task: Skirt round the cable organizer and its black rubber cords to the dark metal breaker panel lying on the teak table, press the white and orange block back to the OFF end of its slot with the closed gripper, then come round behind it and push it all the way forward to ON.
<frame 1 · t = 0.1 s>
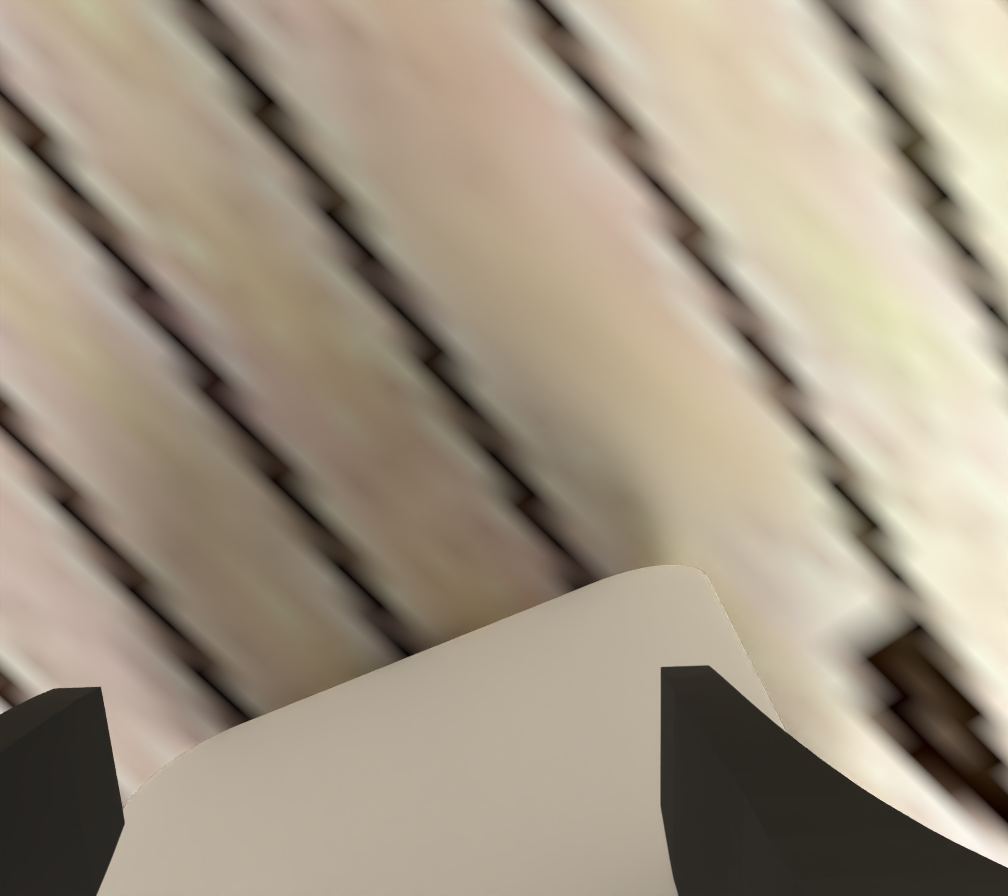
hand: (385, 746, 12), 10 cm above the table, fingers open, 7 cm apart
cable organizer: (513, 796, 24), on the table
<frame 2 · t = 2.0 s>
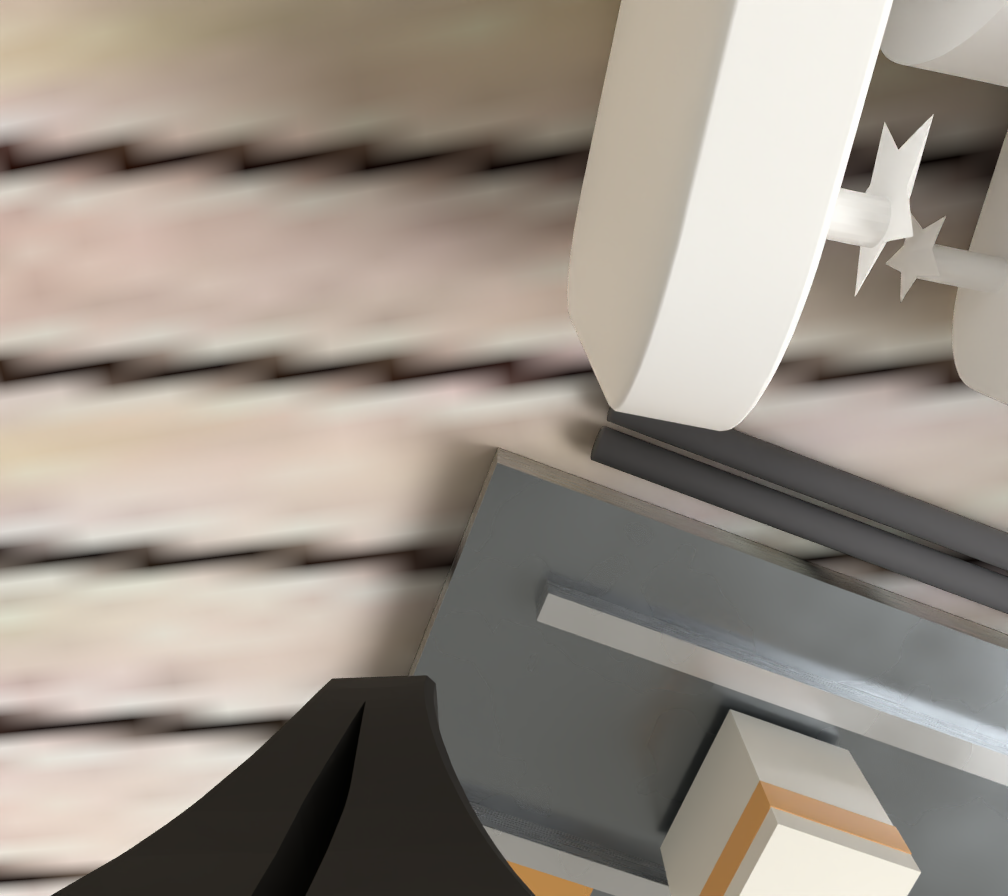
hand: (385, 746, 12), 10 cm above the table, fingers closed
cords: (903, 530, 22), on the table
white and orange block: (775, 858, 20), point 3 cm above the table, slide at 4.0 cm
breaker panel: (737, 761, 24), on the table
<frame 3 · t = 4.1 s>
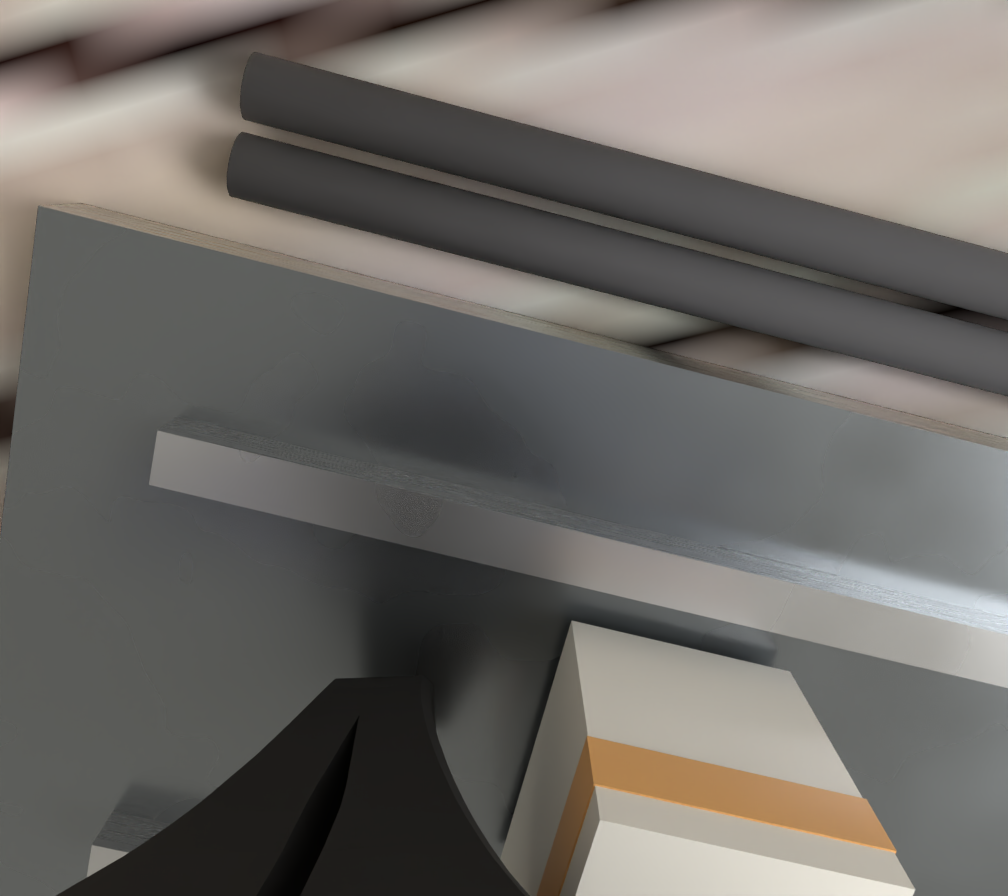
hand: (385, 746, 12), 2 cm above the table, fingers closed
cords: (808, 271, 13), on the table
white and orange block: (661, 877, 11), point 3 cm above the table, slide at 3.5 cm, touching gripper
breaker panel: (593, 707, 14), on the table
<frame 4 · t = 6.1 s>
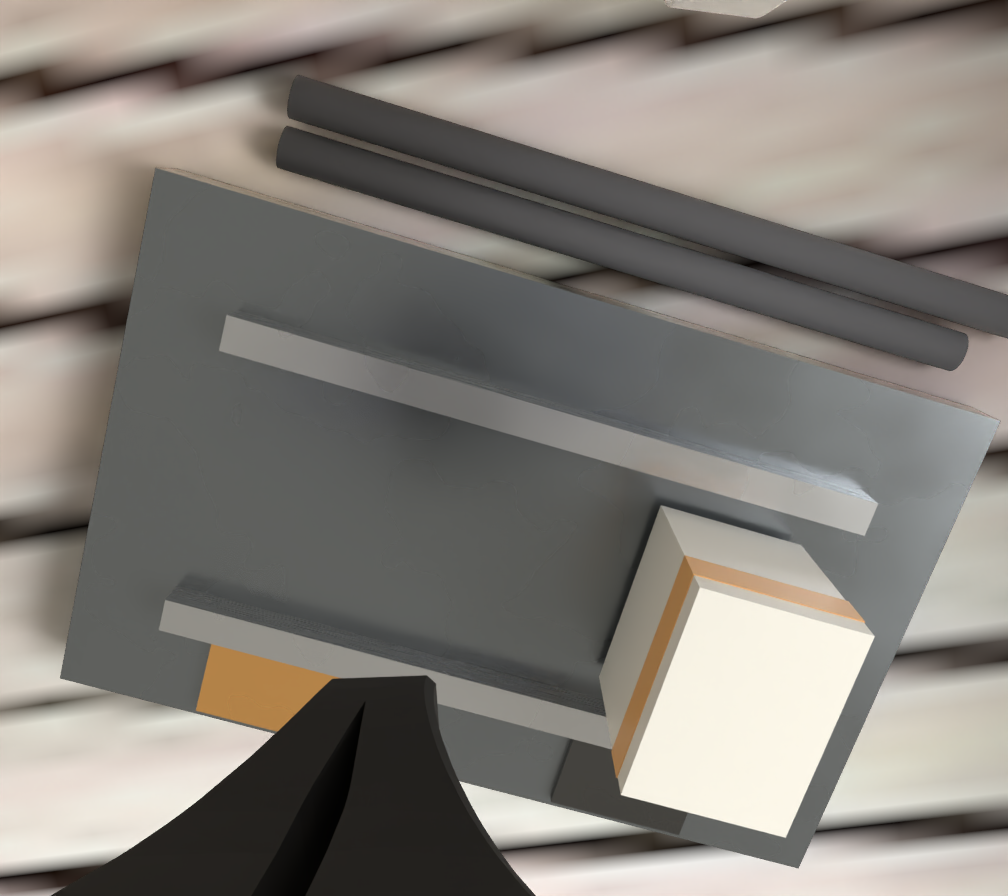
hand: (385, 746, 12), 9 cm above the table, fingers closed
cords: (657, 233, 19), on the table
white and orange block: (718, 659, 18), point 4 cm above the table, slide at 0.0 cm
breaker panel: (510, 534, 21), on the table
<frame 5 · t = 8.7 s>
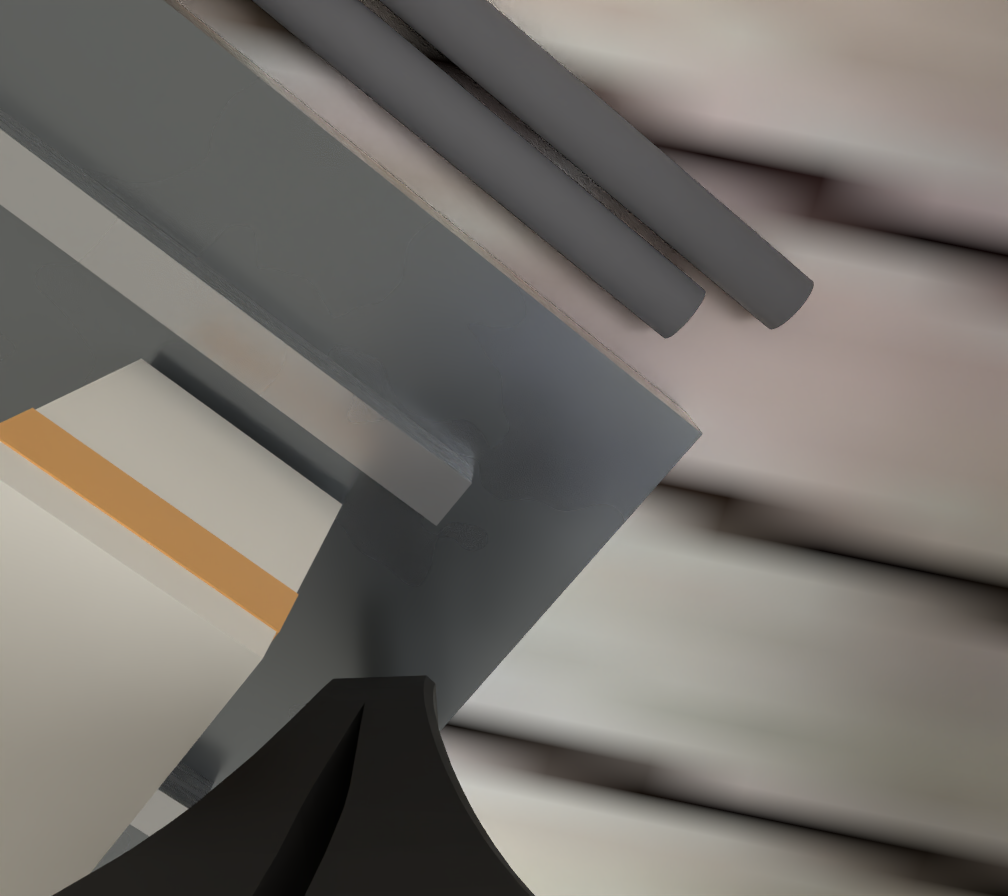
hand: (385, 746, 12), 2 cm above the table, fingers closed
white and orange block: (89, 620, 10), point 4 cm above the table, slide at 0.0 cm, touching gripper
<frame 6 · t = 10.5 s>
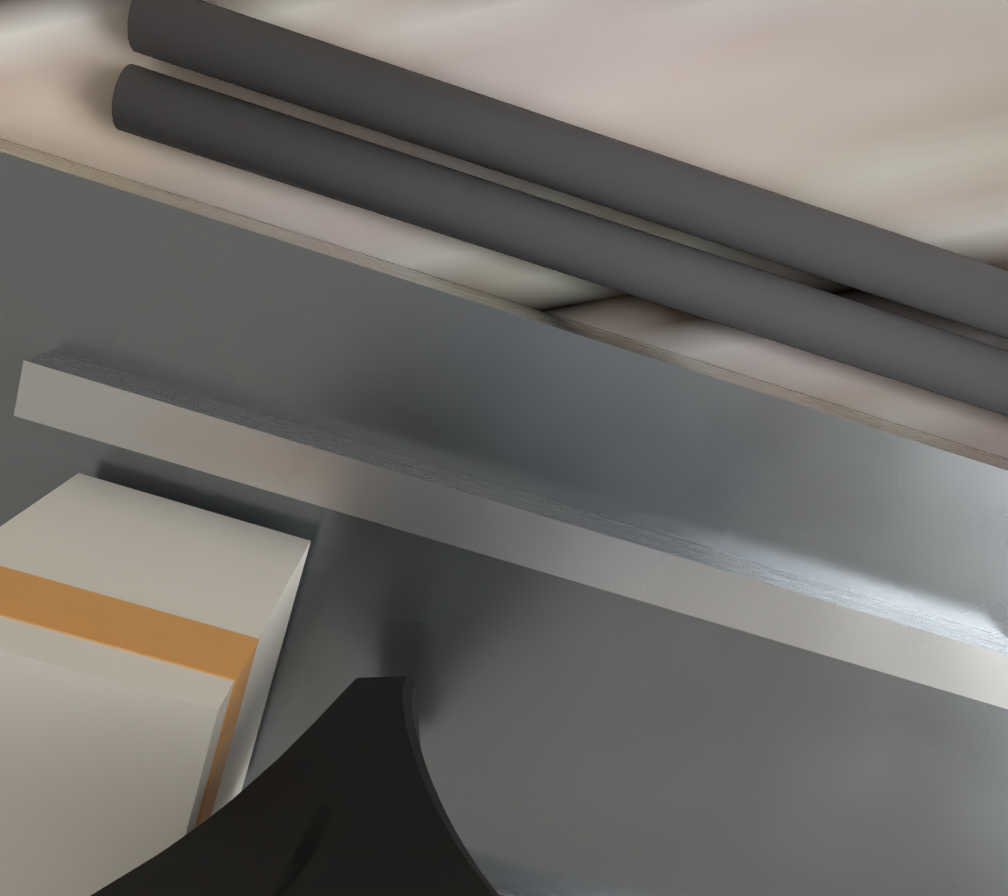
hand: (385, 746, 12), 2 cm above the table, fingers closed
cords: (704, 243, 12), on the table
white and orange block: (100, 728, 11), point 4 cm above the table, slide at 8.3 cm, touching gripper
breaker panel: (476, 674, 14), on the table
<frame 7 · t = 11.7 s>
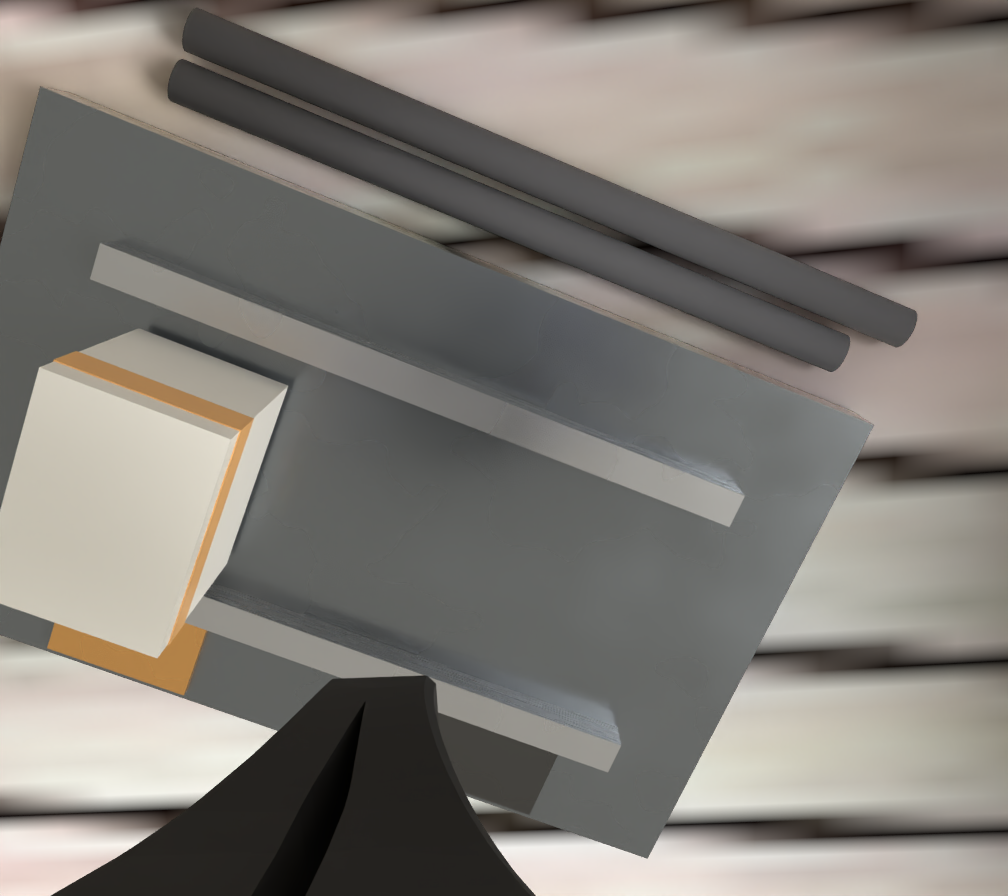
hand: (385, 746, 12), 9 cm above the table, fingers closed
cords: (552, 206, 19), on the table
white and orange block: (147, 480, 17), point 3 cm above the table, slide at 8.0 cm
breaker panel: (385, 498, 20), on the table
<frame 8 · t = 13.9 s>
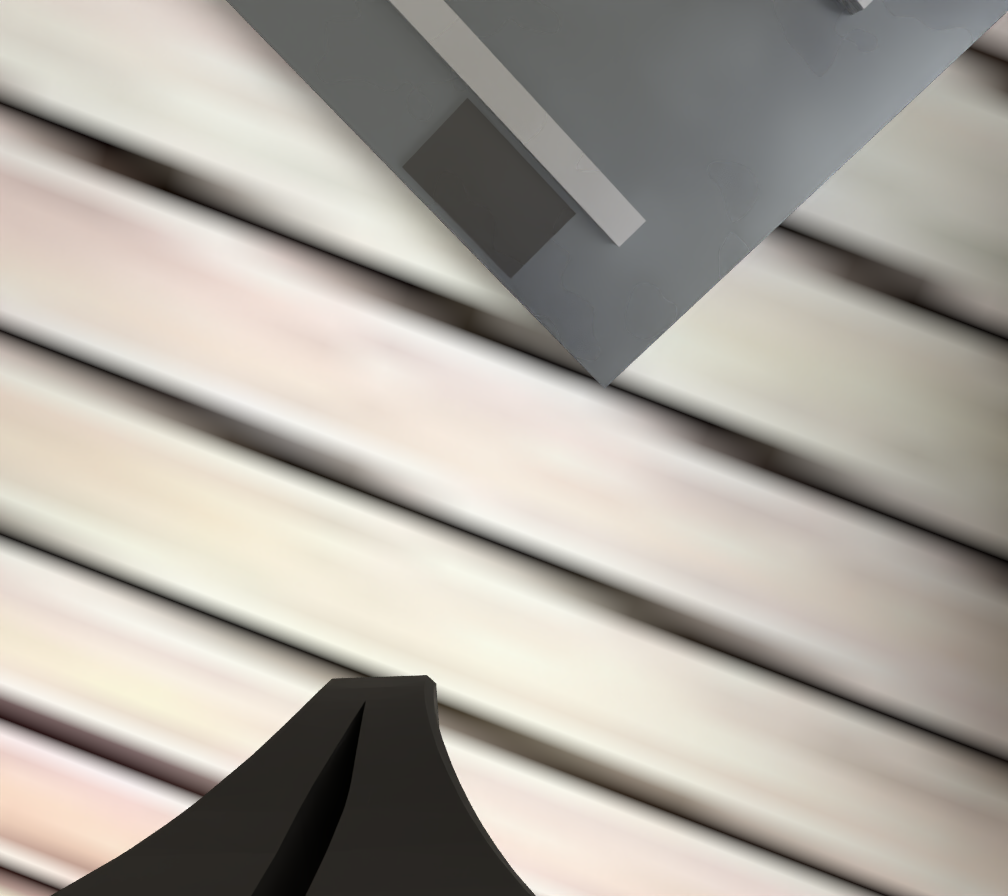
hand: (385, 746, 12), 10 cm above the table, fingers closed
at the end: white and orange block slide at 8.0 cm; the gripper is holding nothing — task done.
